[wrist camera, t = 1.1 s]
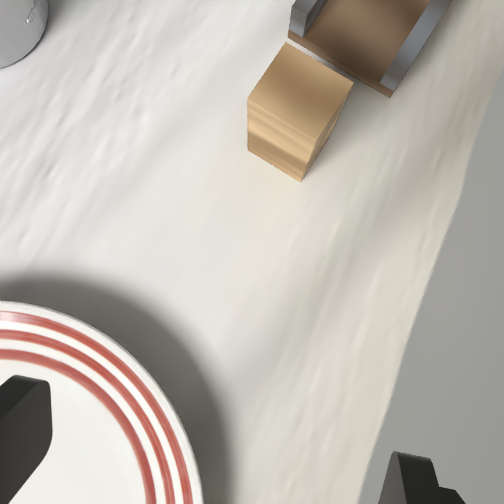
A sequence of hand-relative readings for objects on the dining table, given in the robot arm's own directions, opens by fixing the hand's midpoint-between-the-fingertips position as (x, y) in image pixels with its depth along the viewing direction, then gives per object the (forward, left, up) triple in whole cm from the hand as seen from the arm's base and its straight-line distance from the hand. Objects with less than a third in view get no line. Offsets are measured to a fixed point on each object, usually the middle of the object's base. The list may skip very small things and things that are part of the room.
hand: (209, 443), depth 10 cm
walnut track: (+10, +27, -21) cm, 35 cm away
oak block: (+3, +15, -21) cm, 26 cm away
